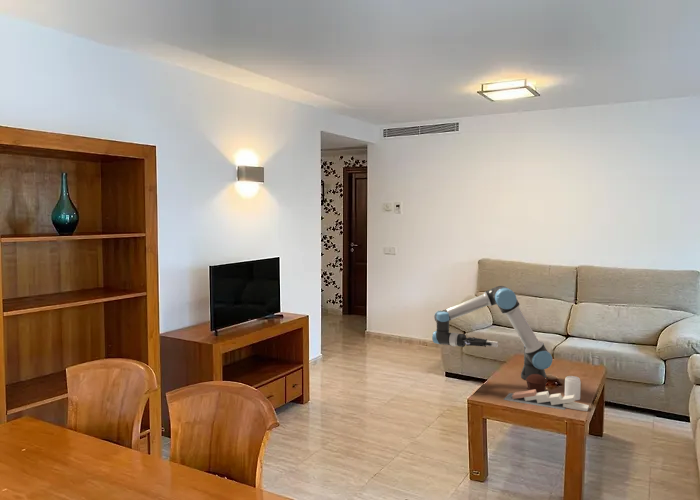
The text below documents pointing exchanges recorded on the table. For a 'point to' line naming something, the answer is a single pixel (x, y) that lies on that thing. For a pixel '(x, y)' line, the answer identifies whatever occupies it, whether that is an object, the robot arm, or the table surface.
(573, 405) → the domino
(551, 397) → the domino
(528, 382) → the muffin
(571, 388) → the beverage can
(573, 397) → the domino
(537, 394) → the domino
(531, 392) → the domino
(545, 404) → the mat
